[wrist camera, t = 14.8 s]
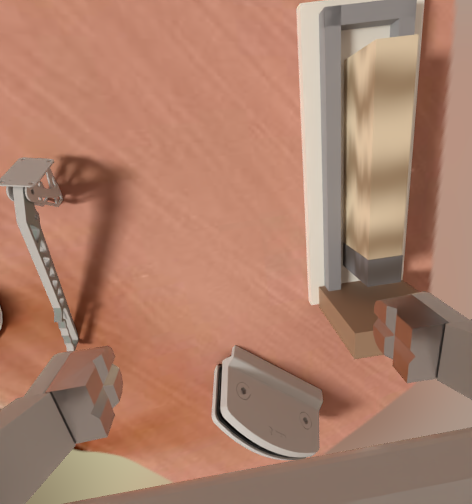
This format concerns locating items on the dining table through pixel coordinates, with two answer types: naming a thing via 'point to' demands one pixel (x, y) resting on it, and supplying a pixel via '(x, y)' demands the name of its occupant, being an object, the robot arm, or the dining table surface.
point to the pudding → (0, 318)
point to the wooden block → (377, 156)
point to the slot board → (341, 153)
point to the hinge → (266, 407)
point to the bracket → (39, 231)
